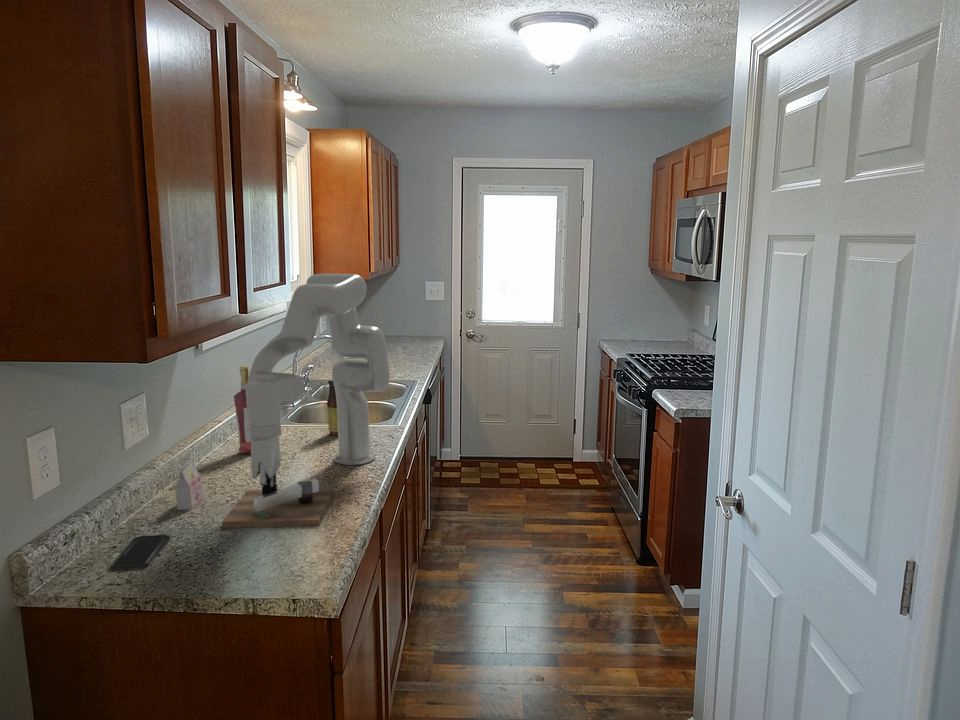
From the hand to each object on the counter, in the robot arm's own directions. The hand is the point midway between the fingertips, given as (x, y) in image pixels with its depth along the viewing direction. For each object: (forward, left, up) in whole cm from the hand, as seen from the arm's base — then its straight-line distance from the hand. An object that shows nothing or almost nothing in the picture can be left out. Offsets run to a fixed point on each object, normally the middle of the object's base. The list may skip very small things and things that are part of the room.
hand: (270, 500), depth 170 cm
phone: (+20, -23, -4) cm, 31 cm away
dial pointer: (0, +4, -2) cm, 5 cm away
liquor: (-51, -20, -4) cm, 55 cm away
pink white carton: (-8, -23, -4) cm, 24 cm away
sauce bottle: (-70, +5, -4) cm, 70 cm away
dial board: (-3, +2, -4) cm, 5 cm away
